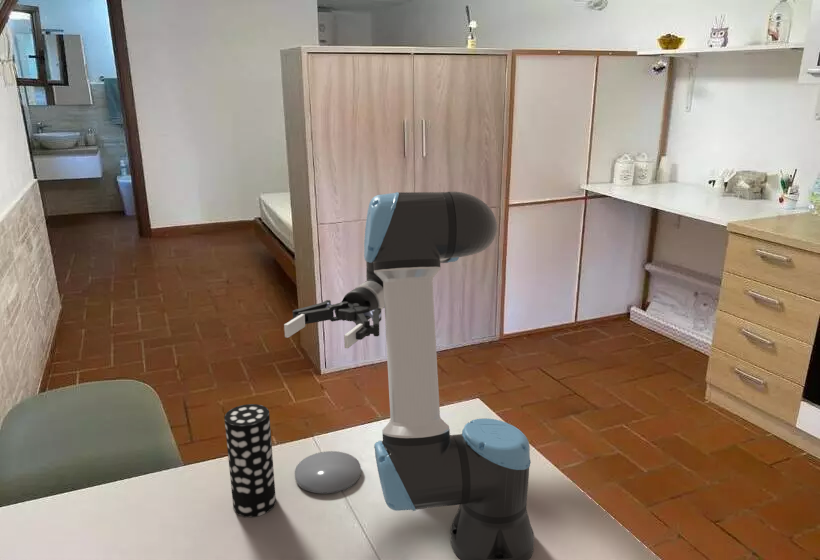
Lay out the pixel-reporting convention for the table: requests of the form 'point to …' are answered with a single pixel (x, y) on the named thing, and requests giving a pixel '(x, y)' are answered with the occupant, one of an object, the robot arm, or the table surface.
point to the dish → (327, 472)
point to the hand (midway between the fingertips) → (315, 336)
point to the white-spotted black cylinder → (250, 459)
